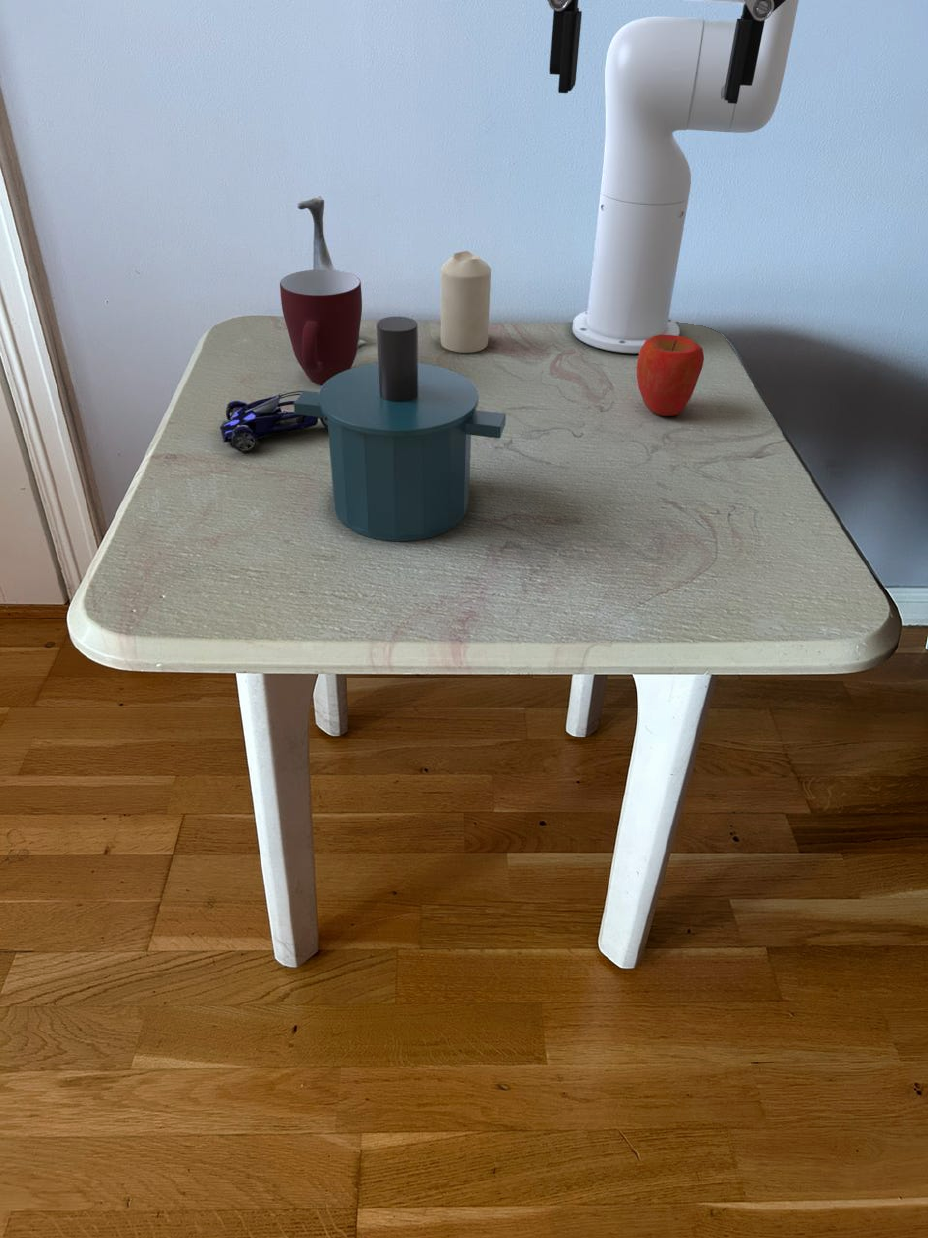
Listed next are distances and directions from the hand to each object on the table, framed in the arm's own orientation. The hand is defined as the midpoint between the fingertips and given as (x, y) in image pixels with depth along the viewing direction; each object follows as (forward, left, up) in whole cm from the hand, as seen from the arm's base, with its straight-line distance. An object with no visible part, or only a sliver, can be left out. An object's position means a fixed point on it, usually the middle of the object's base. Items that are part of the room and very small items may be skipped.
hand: (647, 94), depth 53 cm
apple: (-25, +5, -31) cm, 40 cm away
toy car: (-11, -30, -31) cm, 45 cm away
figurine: (-33, -32, -31) cm, 56 cm away
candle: (-37, -18, -31) cm, 52 cm away
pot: (-1, -16, -31) cm, 35 cm away
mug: (-23, -30, -31) cm, 49 cm away
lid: (-1, -16, -22) cm, 27 cm away
